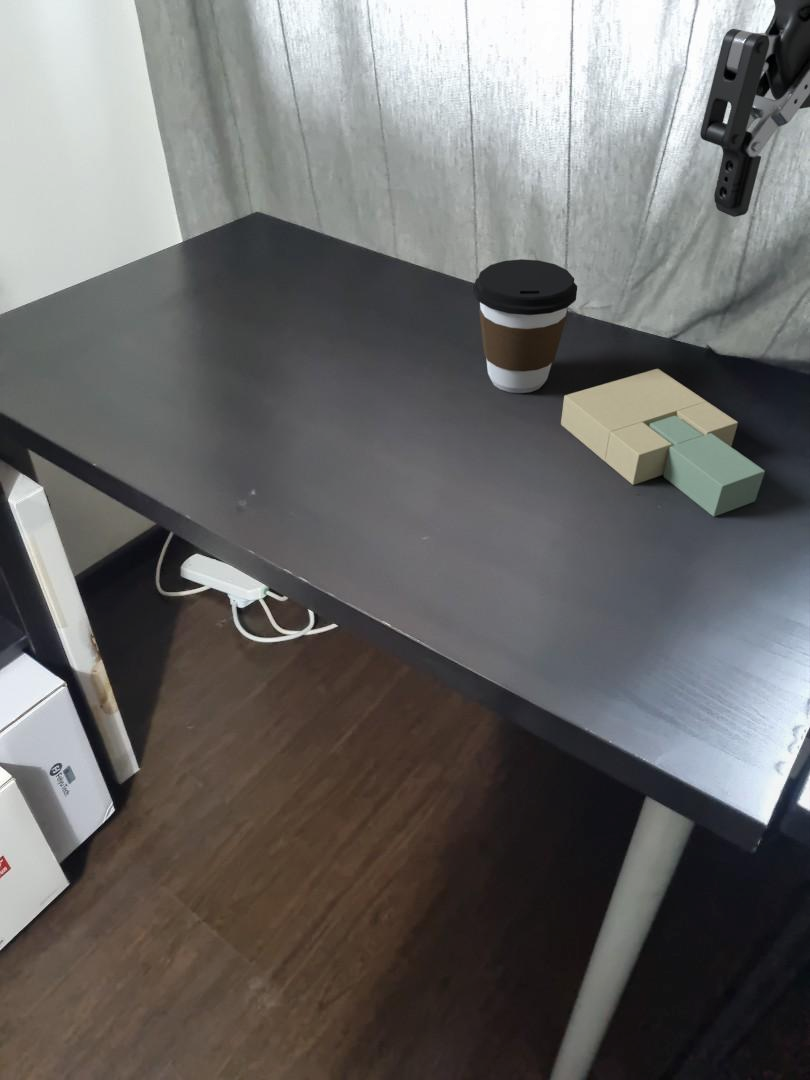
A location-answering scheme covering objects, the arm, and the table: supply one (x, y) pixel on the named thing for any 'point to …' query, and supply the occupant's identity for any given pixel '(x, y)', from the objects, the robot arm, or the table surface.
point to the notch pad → (639, 421)
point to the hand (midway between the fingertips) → (778, 202)
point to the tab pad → (708, 468)
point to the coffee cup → (522, 320)
